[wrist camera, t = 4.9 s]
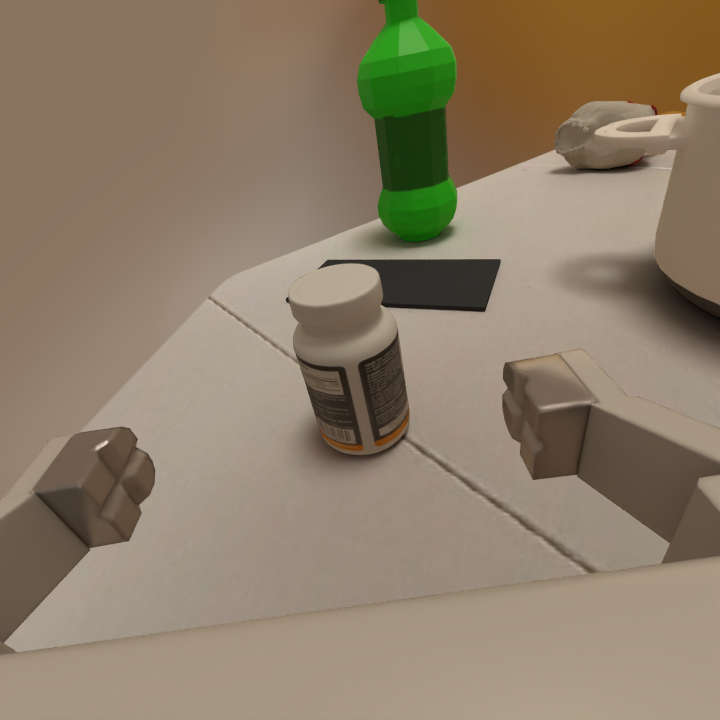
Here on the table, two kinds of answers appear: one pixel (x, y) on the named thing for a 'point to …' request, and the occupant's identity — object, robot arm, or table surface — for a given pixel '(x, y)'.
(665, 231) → the pot
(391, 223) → the plastic bottle
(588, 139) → the white lumpy rounded piece
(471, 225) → the table surface
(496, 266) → the slate mat
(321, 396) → the pill bottle
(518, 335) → the table surface
